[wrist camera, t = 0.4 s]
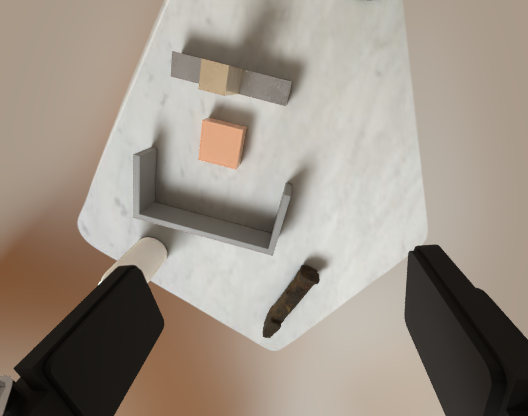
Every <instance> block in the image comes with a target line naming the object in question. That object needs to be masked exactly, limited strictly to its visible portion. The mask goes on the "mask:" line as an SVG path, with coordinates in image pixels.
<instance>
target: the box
mask: <svg viewBox="0 0 528 416" xmlns="http://www.w3.org/2000/svg"><path fill="white" fill-rule="evenodd" d="M156 156H157V149H156V148H152V147H150V148H148V149H145V150H143V151H141V152H138V153H136V154H133V218H136V219H140V220H143V221H147V222H151V223H154V224H158V225H162V226H165V227H169V228H173V229H176V230H180V231H184V232H187V233H191V234H195V235H198V236H202V237H206V238H210V239H213V240H217V241H221V242H224V243H228V244H232V245H235V246H239V247H243V248H246V249H250V250H254V251H257V252H261V253H265V254H269V255H272V256H273V253H274V250H275V247H276V243H277V240H278V237H279V233H280V230H281V227H282V224H283V220H284V217H285V214H286V210H287V207H288V204H289V200H290V197H291V189H292V184H288V183H286V185H285V188H284V192H283V195H282V199H281V202H280V206H279V209H278V213H277V216H276V220H275V223H274V227H273V230H272V233H268V232H264V231H261V230H257V229H253V228H250V227H246V226H242V225H239V224H235V223H231V222H227V221H224V220H220V219H216V218H213V217H209V216H205V215H201V214H198V213H194V212H190V211H187V210H183V209H179V208H175V207H172V206H168V205H164V204H161V203H157V202H155V182H156Z"/></svg>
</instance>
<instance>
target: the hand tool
mask: <svg viewBox="0 0 528 416" xmlns="http://www.w3.org/2000/svg"><path fill="white" fill-rule="evenodd" d="M319 281H320V280H319V274H318V273H317V271H316V270H314V269H312V268H311V267H309V266H306V265H302V266H301V269H300V270H299V271H298V273H297V276H296V277H295V279H294V280H293V281H292V282H291V283H290V285H289V286H288V288H287V289H286V290H285V292H284V293H283V295H282V296H281V297H280V299H279V300H278V301H277V303H276V304H275V305H274V306H273V307H271V308H270V310H269V312H268V314H267V317H266V319H265V322H264V327H263V337H265V338H270V337H271V336H272V335H273V334H274V333H276V332H277V331H278V330H279V329H280V327H281V323H282V322H283V321H284V319H285V318H286V317H287V315H288V314H289V313H290V312H291V311H292V310H293V309H294V308H295V307H296V305H297V304H298V303H299V302H300V301H301V299H302V298H303V297H304V296H305V295H306V293H307V292H308V291H309V290H310V289H311V287H312V286H313V285H314V284H318V283H319Z"/></svg>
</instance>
